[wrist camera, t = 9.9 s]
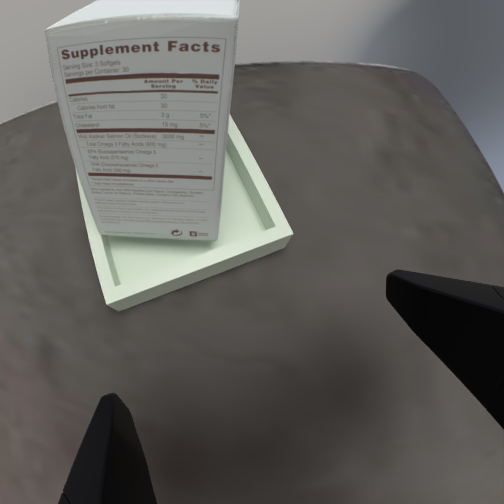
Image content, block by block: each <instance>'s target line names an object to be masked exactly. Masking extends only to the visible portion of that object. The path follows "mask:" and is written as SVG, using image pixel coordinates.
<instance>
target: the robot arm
mask: <svg viewBox="0 0 504 504" xmlns="http://www.w3.org/2000/svg"><path fill="white" fill-rule="evenodd" d="M386 297H387V300H388V301H389V302H390V304H391V305H392V306H393V307H394V309H395V310H396V311H397V312H398V313H399V315H400V316H401V317H402V318H403V320H404V321H405V322H406V323H407V325H408V326H409V327H410V328H411V329H412V331H413V332H414V333H415V334H416V335H417V336H418V337H419V338H420V339H421V340H422V341H423V342H424V343H425V344H426V345H427V346H428V347H429V348H430V349H431V350H432V351H433V352H434V353H435V355H436V356H437V357H438V358H439V359H440V360H441V361H442V362H443V363H444V364H445V365H446V366H447V367H448V368H449V369H450V370H451V371H452V372H453V373H454V374H455V376H456V377H457V378H458V379H459V380H460V381H461V382H462V383H463V384H464V385H465V386H466V387H467V389H468V390H469V391H470V392H471V393H472V394H473V395H474V396H475V397H476V398H477V400H478V401H479V402H480V403H481V404H482V405H483V406H484V407H485V408H486V410H487V411H488V412H489V413H490V414H491V415H492V417H493V418H494V419H495V420H496V421H497V422H498V423H499V425H500V426H501V427H502V428H503V429H504V287H500V286H494V285H492V286H491V285H488V284H482V283H476V282H470V281H464V280H458V279H452V278H446V277H440V276H434V275H428V274H422V273H416V272H410V271H404V270H395V271H393V272H391V273H389V274H388V275H387V277H386ZM63 492H64V493H62V494H61V497H60V500H59V503H58V504H157V502H156V498H155V495H154V491H153V487H152V483H151V479H150V475H149V471H148V467H147V463H146V459H145V456H144V453H143V450H142V447H141V444H140V441H139V438H138V435H137V431H136V428H135V425H134V422H133V418H132V415H131V413H130V411H129V409H128V408H127V406H126V405H125V404H124V403H123V402H122V400H121V399H120V398H119V397H118V395H117V394H115V393H110V394H107V395H104V396H102V397H101V399H100V401H99V404H98V406H97V408H96V410H95V413H94V415H93V417H92V420H91V422H90V424H89V427H88V429H87V431H86V434H85V436H84V438H83V441H82V443H81V446H80V448H79V450H78V453H77V455H76V458H75V460H74V463H73V465H72V468H71V471H70V473H69V476H68V478H67V481H66V484H65V486H64V489H63Z"/></svg>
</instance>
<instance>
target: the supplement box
mask: <svg viewBox="0 0 504 504" xmlns="http://www.w3.org/2000/svg"><path fill="white" fill-rule="evenodd" d="M239 5H240V1H239V0H97V1H95V2H93V3H91V4H90V5H87V6H86V7H84V8H82V9H80V10H78V11H76V12H74V13H73V14H71V15H69V16H67V17H66V18H64V19H62V20H60V21H59V22H57V23H55V24H54V25H52V26H50V27H48V28H47V29H46V30H45V35H46V41H47V47H48V53H49V60H50V67H51V71H52V77H53V82H54V86H55V91H56V95H57V100H58V105H59V109H60V113H61V117H62V121H63V125H64V129H65V133H66V136H67V140H68V144H69V147H70V151H71V154H72V157H73V160H74V164H75V167H76V170H77V173H78V176H79V179H80V183H81V186H82V188H83V191H84V194H85V197H86V200H87V203H88V205H89V208H90V211H91V214H92V216H93V219H94V221H95V224H96V227H97V229H98V231H99V234H101V235H111V236H128V237H143V238H162V239H180V240H201V241H216V240H217V239H218V233H219V224H220V214H221V203H222V193H223V179H224V166H225V156H226V146H227V136H228V126H229V115H230V105H231V96H232V86H233V76H234V66H235V55H236V44H237V30H238V18H239Z"/></svg>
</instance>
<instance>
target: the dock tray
mask: <svg viewBox="0 0 504 504" xmlns="http://www.w3.org/2000/svg"><path fill="white" fill-rule="evenodd" d="M76 173H77V170H76ZM77 180H78V186H79V192H80V198H81V203H82V208H83V213H84V218H85V223H86V228H87V232H88V237H89V241H90V245H91V250H92V254H93V258H94V262H95V266H96V269H97V273H98V277H99V280H100V284H101V287H102V291H103V294H104V298H105V301H106V304H107V305H108V306H110V307H111V308H113V309H115V310H117V311H118V312H119V311H122V310H124V309H127V308H130V307H132V306H135V305H138V304H140V303H143V302H146V301H148V300H151V299H153V298H156V297H159V296H161V295H164V294H167V293H169V292H172V291H174V290H177V289H180V288H182V287H185V286H187V285H190V284H193V283H195V282H198V281H200V280H203V279H206V278H208V277H211V276H213V275H216V274H219V273H221V272H224V271H226V270H229V269H232V268H234V267H237V266H239V265H242V264H245V263H247V262H250V261H252V260H255V259H257V258H260V257H263V256H265V255H268V254H270V253H273V252H275V251H278V250H281V249H283V248H285V246H286V245H287V243H288V241H289V240H290V238H291V237H292V235H293V232H292V230H291V228H290V226H289V224H288V222H287V220H286V218H285V216H284V214H283V212H282V210H281V208H280V206H279V205H278V203H277V201H276V199H275V197H274V195H273V193H272V191H271V189H270V187H269V185H268V183H267V182H266V180H265V178H264V176H263V174H262V172H261V170H260V168H259V167H258V165H257V163H256V161H255V159H254V157H253V155H252V154H251V152H250V150H249V148H248V146H247V144H246V142H245V141H244V139H243V137H242V135H241V133H240V132H239V130H238V128H237V126H236V124H235V123H234V121H233V119H232V117H231V115H229V126H228V136H227V146H226V156H225V166H224V179H223V193H222V203H221V214H220V224H219V233H218V239H217V240H216V241H201V240H180V239H162V238H143V237H128V236H111V235H101V234H99V231H98V229H97V227H96V224H95V221H94V219H93V216H92V214H91V211H90V208H89V205H88V203H87V200H86V197H85V194H84V191H83V188H82V186H81V183H80V179H79V176H78V173H77Z"/></svg>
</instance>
